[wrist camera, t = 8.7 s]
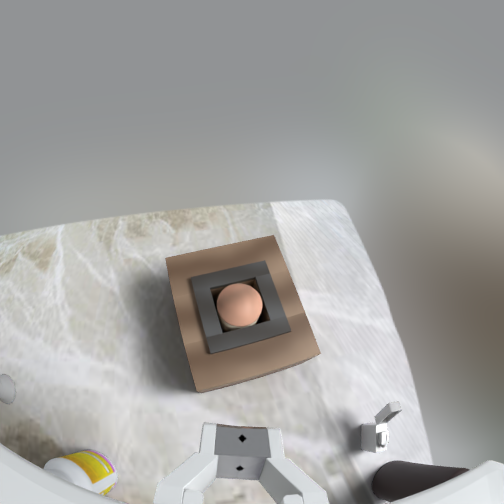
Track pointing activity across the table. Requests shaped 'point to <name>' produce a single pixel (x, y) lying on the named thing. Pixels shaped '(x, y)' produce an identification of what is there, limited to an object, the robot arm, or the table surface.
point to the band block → (245, 339)
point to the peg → (238, 307)
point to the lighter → (378, 429)
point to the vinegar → (410, 479)
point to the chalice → (7, 389)
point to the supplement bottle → (85, 470)
